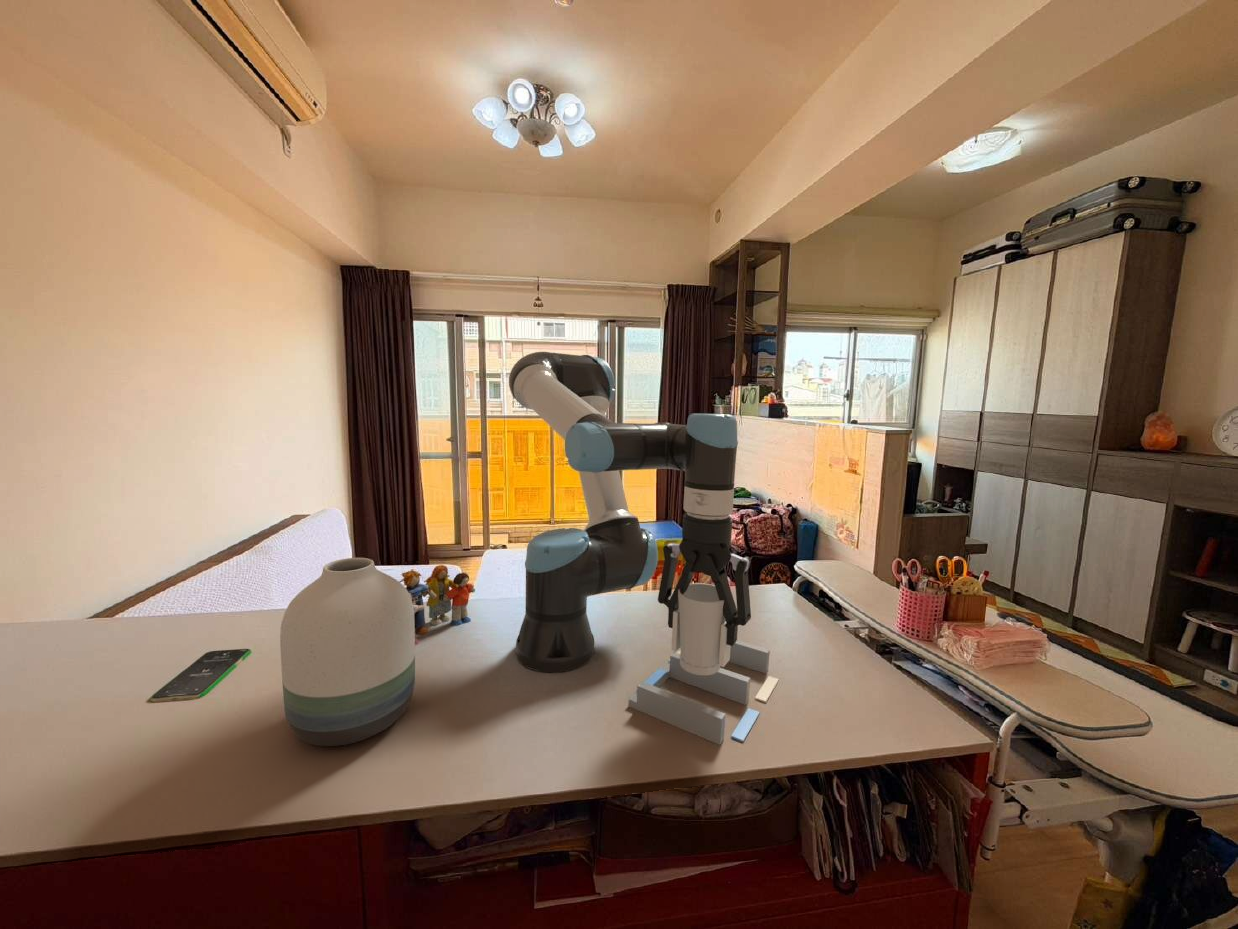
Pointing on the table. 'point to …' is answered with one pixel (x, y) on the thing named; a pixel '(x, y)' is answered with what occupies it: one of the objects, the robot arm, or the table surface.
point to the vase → (347, 654)
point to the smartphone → (201, 675)
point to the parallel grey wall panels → (720, 683)
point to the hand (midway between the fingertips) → (700, 654)
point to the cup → (700, 628)
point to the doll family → (438, 597)
